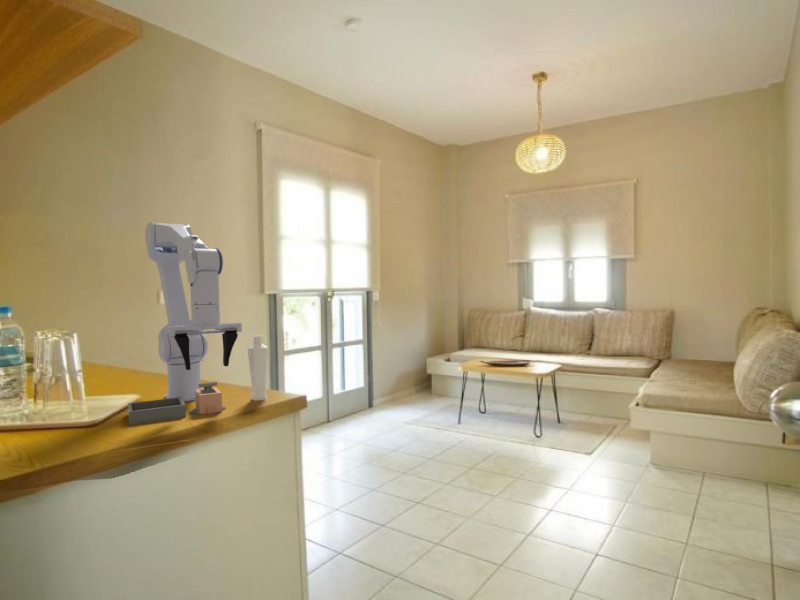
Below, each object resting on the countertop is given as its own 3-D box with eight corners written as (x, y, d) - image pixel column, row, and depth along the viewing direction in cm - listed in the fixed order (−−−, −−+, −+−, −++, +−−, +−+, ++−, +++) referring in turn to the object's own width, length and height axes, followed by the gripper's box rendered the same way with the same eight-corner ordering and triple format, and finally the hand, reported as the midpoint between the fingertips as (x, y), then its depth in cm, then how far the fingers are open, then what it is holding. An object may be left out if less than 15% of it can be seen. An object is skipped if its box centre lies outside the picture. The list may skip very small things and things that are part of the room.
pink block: (195, 407, 108) (195, 389, 108) (216, 405, 110) (216, 387, 110) (200, 415, 101) (199, 395, 101) (222, 412, 104) (222, 393, 103)
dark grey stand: (189, 409, 107) (188, 382, 107) (222, 405, 111) (221, 378, 111) (193, 416, 101) (192, 387, 101) (228, 411, 105) (227, 383, 104)
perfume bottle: (251, 397, 118) (249, 335, 117) (269, 396, 118) (268, 334, 118) (247, 402, 113) (245, 337, 113) (266, 401, 114) (265, 336, 113)
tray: (128, 415, 103) (127, 403, 103) (181, 408, 108) (180, 396, 108) (129, 425, 95) (128, 412, 95) (186, 417, 101) (185, 404, 100)
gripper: (169, 306, 98) (172, 373, 99) (244, 303, 105) (246, 366, 106) (166, 305, 104) (168, 368, 105) (237, 302, 112) (238, 362, 112)
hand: (207, 367), depth 106 cm, fingers open, 7 cm apart
